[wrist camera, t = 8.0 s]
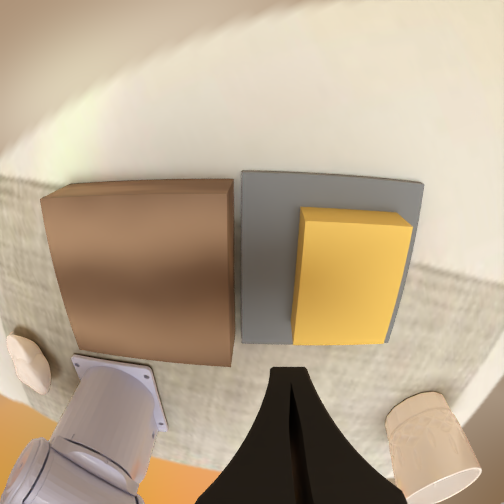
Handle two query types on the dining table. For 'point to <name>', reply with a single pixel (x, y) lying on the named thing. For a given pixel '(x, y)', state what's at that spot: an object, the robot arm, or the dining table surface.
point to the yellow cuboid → (347, 275)
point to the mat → (286, 237)
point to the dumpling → (29, 363)
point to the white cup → (429, 450)
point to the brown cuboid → (147, 267)
